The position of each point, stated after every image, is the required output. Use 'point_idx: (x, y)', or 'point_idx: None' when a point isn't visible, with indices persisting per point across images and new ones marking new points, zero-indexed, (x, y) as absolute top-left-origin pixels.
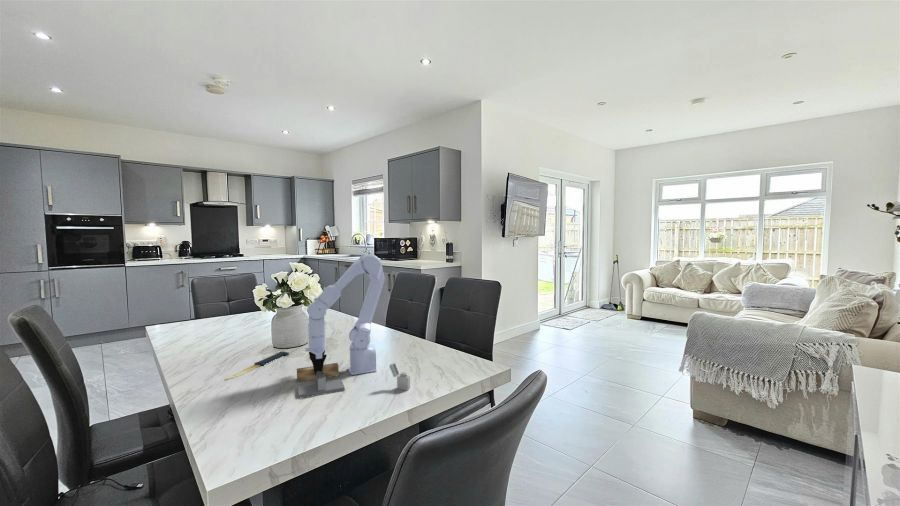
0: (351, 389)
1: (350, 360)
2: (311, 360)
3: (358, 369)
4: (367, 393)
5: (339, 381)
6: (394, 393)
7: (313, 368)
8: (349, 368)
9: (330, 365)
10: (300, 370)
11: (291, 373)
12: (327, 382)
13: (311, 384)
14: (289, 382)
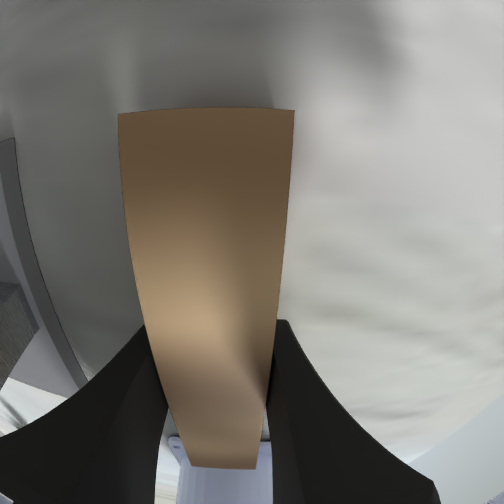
0: (18, 382)
1: (216, 500)
2: (1, 437)
3: (181, 469)
4: (2, 395)
5: (52, 386)
6: (17, 426)
7: (168, 353)
8: (263, 448)
9: (207, 448)
10: (141, 177)
11: (461, 99)
12: (35, 342)
13: (6, 250)
14: (194, 32)
